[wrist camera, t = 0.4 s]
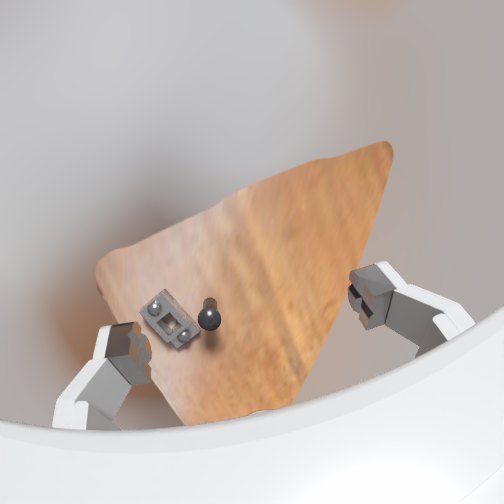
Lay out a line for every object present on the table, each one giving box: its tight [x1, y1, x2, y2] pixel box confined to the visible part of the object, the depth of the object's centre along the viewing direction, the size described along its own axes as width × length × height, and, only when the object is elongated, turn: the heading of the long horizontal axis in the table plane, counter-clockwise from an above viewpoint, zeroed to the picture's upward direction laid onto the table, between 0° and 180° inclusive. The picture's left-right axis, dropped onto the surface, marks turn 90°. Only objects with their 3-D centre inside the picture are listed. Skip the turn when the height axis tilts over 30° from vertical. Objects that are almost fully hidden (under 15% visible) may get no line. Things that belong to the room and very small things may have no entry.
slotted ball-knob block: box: [139, 289, 200, 349], centre depth 58 cm, size 12×7×5 cm, turn 38°
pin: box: [198, 298, 221, 331], centre depth 57 cm, size 4×4×10 cm
